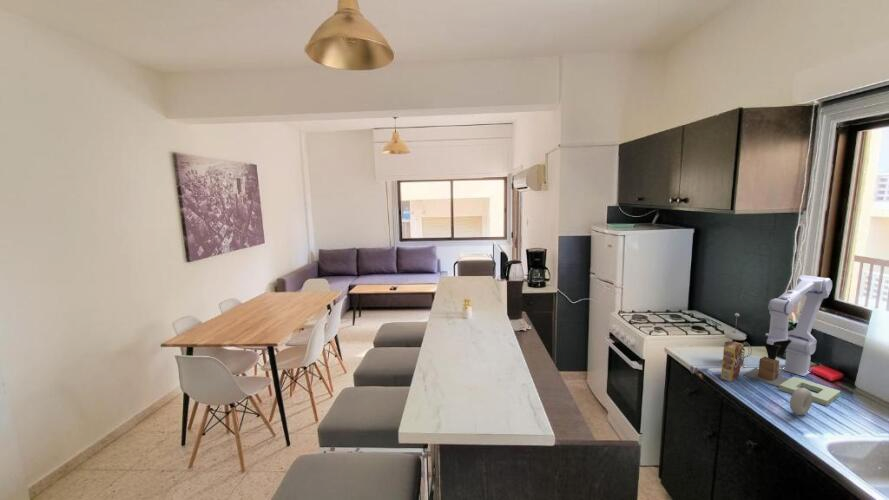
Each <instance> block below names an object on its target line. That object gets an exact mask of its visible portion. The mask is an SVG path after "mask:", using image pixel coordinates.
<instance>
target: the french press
mask: <svg viewBox="0 0 889 500" xmlns="http://www.w3.org/2000/svg"><path fill="white" fill-rule="evenodd" d="M734 316H735V318H736V319H735V325H738V324H737V323H738V322H737V321H738V317H740V314H739V313H738V312H736V313H734ZM736 331H737V328H735V331H732V332H725V333H724V337H726V338H727V339H730V340H734V341H733V342H736V341H744V342H742V343H741V344H743V346H742V355H741V363H740V369H742V368H741V367H744V366H745V365H746V364H745V362H744V361H745V358H748V357H750V356H751V355H752V349H753V348H752V346H751V345H750V344H749V343H748V342H747V341H745V340H746V339H747V337H746V336H744V335H743V334H740V333H739V332H736ZM730 342H731V341H725V342H724V345H723V347H724V346H725V345H727V344H729V343H730ZM745 346H746V347H747V348H748V350H750V352H748V353H747V355H746V356H745ZM722 354H723V355H724V351H723V353H722ZM723 355H722V356H723ZM719 363H720V364H722V363H723V358H722V359H720V361H719Z"/></svg>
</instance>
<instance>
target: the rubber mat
mask: <svg viewBox="0 0 889 500" xmlns="http://www.w3.org/2000/svg"><path fill="white" fill-rule="evenodd" d="M758 372H759V367H758V368H757V367H755V368H753V369H751V370H749V371H747V372H745V373H744V374H743V376H745V377H747V378H750V379H753V380H755V381H758V382H762V383H765V384H768V385H771V386H774V387H777V388H779V385H780V384H782V383H783V382H785V381H787V380H788V379H790V378H789V377H786V376H783V375H780V374H778V378H777V379H775V380H773V381H771V380H768V379H765V378H762V377H759V376H758Z"/></svg>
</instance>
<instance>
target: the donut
mask: <svg viewBox="0 0 889 500" xmlns="http://www.w3.org/2000/svg"><path fill="white" fill-rule="evenodd" d="M810 391H811V390H810V389H806V388H803V387H800V388H798V389H796V390H795V391H794V393H793V394H791V396H790V400H789V408H790V410H791V411H792V412H793V414H796V415H799V416H802V415H805V414H807V413H808V411H810V409H811V406H812V405H813V401H812V394H811V392H812V391H811V392H810Z"/></svg>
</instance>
